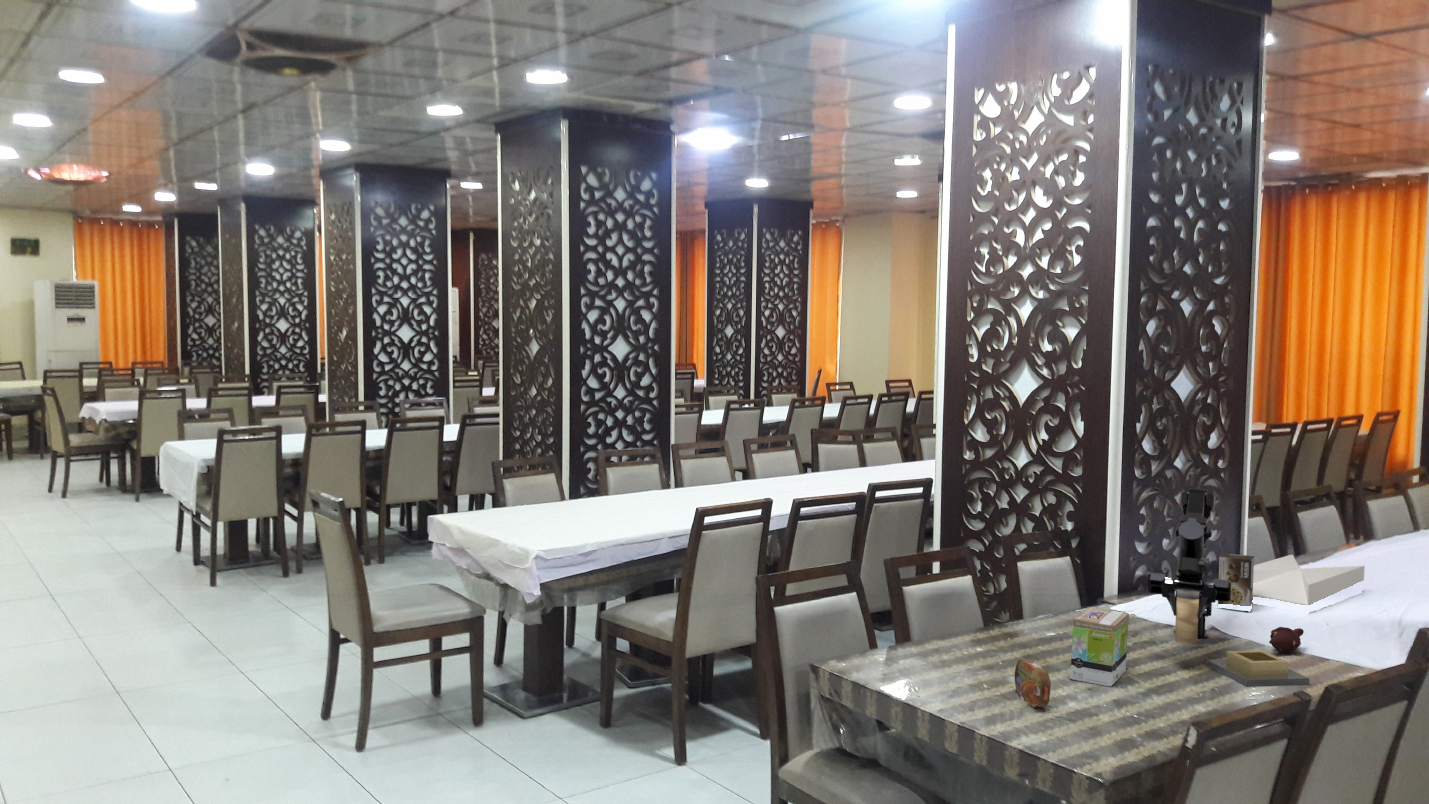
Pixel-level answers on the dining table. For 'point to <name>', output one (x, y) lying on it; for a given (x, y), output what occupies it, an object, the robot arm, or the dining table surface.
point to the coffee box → (1237, 577)
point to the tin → (1032, 683)
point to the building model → (1301, 581)
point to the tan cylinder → (1187, 616)
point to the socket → (1257, 669)
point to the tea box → (1099, 646)
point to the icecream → (1286, 639)
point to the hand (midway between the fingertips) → (1186, 616)
